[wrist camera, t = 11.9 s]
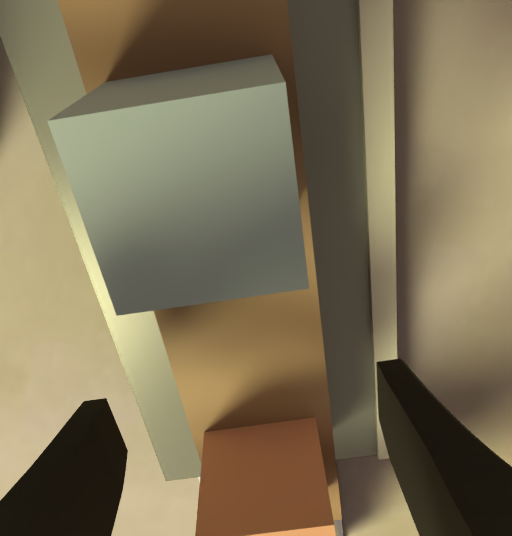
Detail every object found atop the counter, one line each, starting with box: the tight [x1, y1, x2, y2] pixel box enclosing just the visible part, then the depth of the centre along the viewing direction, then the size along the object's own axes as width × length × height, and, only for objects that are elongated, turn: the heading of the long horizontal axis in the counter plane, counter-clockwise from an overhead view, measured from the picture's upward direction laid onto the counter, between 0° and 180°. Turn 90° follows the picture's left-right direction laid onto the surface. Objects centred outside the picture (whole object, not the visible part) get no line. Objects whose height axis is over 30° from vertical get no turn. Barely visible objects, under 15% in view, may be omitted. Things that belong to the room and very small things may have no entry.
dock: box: [0, 0, 397, 481], centre depth 20 cm, size 24×12×3 cm, turn 9°
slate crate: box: [47, 54, 309, 316], centre depth 11 cm, size 4×4×4 cm
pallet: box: [58, 0, 342, 521], centre depth 17 cm, size 20×5×4 cm, turn 9°
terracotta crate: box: [195, 418, 336, 536], centre depth 17 cm, size 4×4×4 cm
